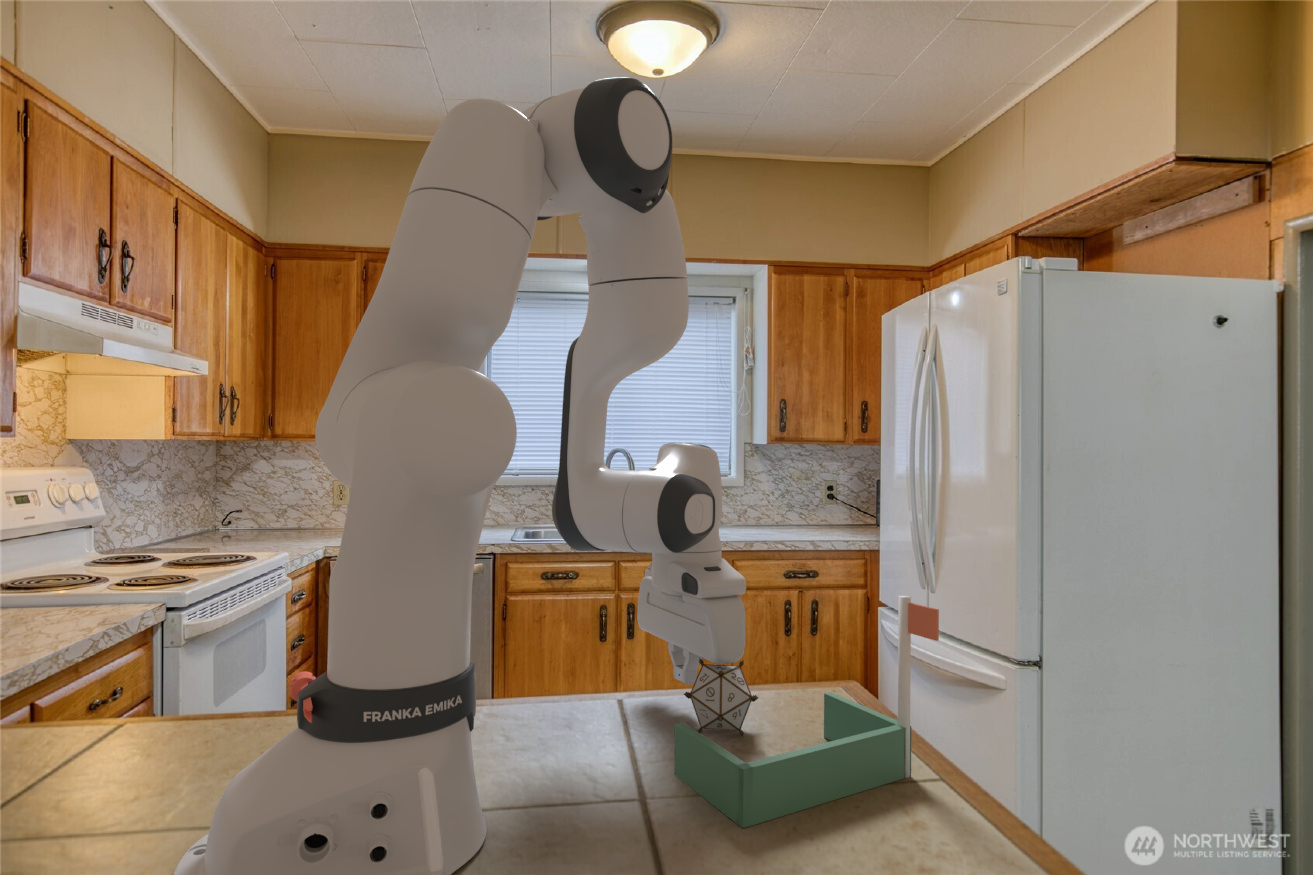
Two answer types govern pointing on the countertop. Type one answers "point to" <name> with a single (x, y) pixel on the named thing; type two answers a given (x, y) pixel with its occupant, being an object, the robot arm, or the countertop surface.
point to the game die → (721, 697)
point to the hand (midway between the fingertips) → (684, 681)
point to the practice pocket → (813, 749)
